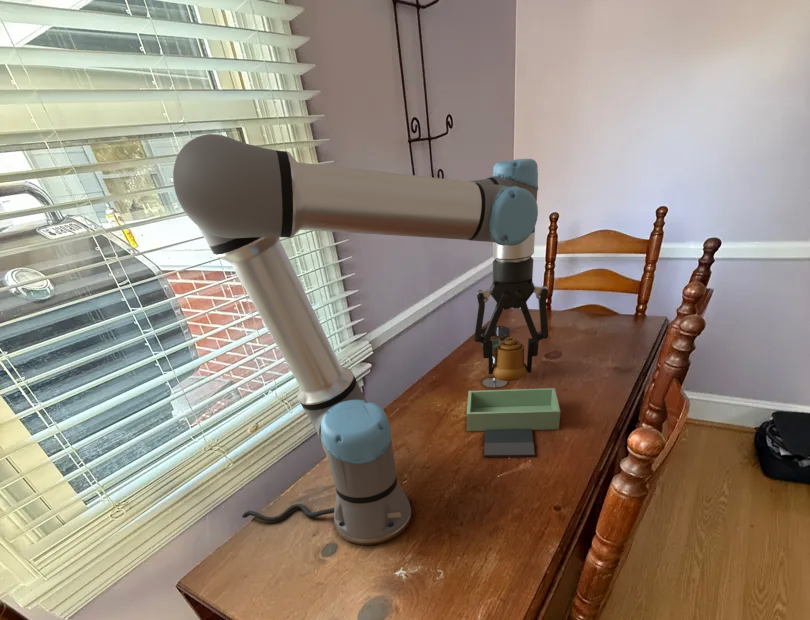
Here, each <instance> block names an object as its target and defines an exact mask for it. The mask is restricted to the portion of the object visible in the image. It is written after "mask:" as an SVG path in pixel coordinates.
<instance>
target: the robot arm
mask: <svg viewBox="0 0 810 620" xmlns="http://www.w3.org/2000/svg"><path fill="white" fill-rule="evenodd" d="M172 181H173V187H174V192H175V195H176V198H177V201H178V203H179V205H180V207H181V208H182V210H183V212H184V213H185V214H186V216H187V217H188V219H190V221H192V223H193V224H194V225H196V226H197V228H198V230H199V231H200V233H201V235H202V237H203V238H204V240H205V241H206V243H207V245H208V247H209V248H210V250H211V252H212V253H213V255H214V257H215V258H217V259H221V260H223V261H226V262H227V263H229V264H230V265H231V267H232V269H233V270H234V272H235V274H236V276H237V278H238V280H239V281H240V283H241V285H242V287H243V288H244V290H245V292H246V293H247V295H248V297H249V299H250V301H251V302H252V304H253V306H254V308H255V309H256V311H257V313H258V315H259V316H260V318H261V320H262V322H263V324H264V325H265V327H266V329H267V331H268V333H269V334H270V336H271V338H272V340H273V341H274V343H275V345H276V347H277V349H278V350H279V352H280V353H281V355H282V357H283V359H284V360H285V362H286V364H287V366H288V368H289V370H290V372H291V373H292V375H293V377H294V379H295V380H296V382H297V384H298V385H299V390H298V392H297V400H298V402H299V403H300V405H301V407H302V409H303V410H304V412H305V414H306V415H307V417H308V419H309V420H310V423H311V424H312V426H313V428H314V430H315V433H316V434H317V436H318V438H319V442H320V444H321V446H322V448H323V451H324V453H325V455H326V458H327V462H328V464H329V468H330V471H331V475H332V480H333V484H334V487H335V491H336V497H335V503H334V507H329V508H326V509H320V510H317V511H313V512H311V511H310V510H308V507H307V506H306V505H305V504H302V503H295V504H292V505H291V506H289V507H287V508H286V509H285V510H284V511H283V512H281V513H280V514H277V515H275V516H266V515H264V514H261V513H260V512H258V511H255V510H251V509H250V510H247V511H245V512H244V513H243V514H242V516H241V517H242V518H243V519H245V518H248V517H249V516H252V517H255V518H257V519H259V520H261V521H264V522H268V523H273V522H279V521H281V520H283V519H284V518H285V517H287V516H288V515H289V514H290V513H291V512H293V511H294V510H298V509H299V510H301V511H302V512H303V513H304V515H305V516H306V517H308V518H317V517H320V516H325V515H330V514H333V523H334V527H335V531H336V533H338V535H339V537H341V538H342V539H343V540H345V541H347V542H350V543H351V544H355V545H360V546H361V545H363V546H370V545H379V544H382V543H386V542H388V541H391V540H393V539H394V538H396V537H398V536H399V535H401V534H402V533H403V532H404V531H405V530H406V529H407V528H408V526H409V524H410V522H411V520H412V508H411V503H410V501H409V498H408V497H407V495H406V493H405V492H404V489H403V488H402V487H401V485H400V483H399V481H398V475H397V469H396V462H395V455H394V450H393V442H392V430H391V425H390V422H389V420H388V416H387V414H386V412H385V410H384V409H382V407H381V406H379V405H378V404H376V403H375V402H372V401H369V402H367V399H366V397H365V395H364V393H363V391H362V389H361V387H360V385H359V383H358V381H357V378H356V377H355V374H354V372H353V371H352V370H351V369H350V368H348V367H344V366H341V363H340V361H339V358H338V357H337V355H336V353H335V351H334V349H333V347H332V345H331V343H330V341H329V339H328V337H327V334H326V333H325V331H324V329H323V327H322V324H321V322H320V320H319V318H318V316H317V313H316V311H315V310H314V308H313V306H312V304H311V302H310V300H309V297H308V296H307V293H306V291H305V289H304V287H303V285H302V283H301V281H300V279H299V277H298V274H297V272H296V270H295V269H294V267H293V264H292V263H291V261H290V258H289V257H288V255H287V252H286V250H285V248H284V246H283V244H282V242H281V240H280V238H288V239H289V238H290V239H291V238H293V237H295V235H296V234H297V233H298V232H299V231H315V232H332V233H347V234H348V233H349V234H362V235H363V234H365V235H380V236H381V235H382V236H397V237H398V236H399V237H414V238H430V239H445V240H447V239H448V240H449V239H450V240H460V241H461V240H463V241H472V242H488V243H489V242H490V243H492V257H493V258H494V260H493V261H492V283H491V286H490V288H489V289H485V290H482V289H479V290H478V291H477V293H476V297H477V303H478V308H477V315H476V322H475V329H474V339H473V340H474V342H475V343H480V344H481V343H482V344H483V350H482V357H483V359H488V375H493V373H492V367H493V364H492V340H490V339H491V336H492V334H493V332H494V329H495V327H496V326H498V325H497V324H498V322H499V319H500V317H501V315H502V314H503V312H504V310H510V309H515V310H518V309H520V310H521V312H522V315H523V318H524V320H525V323H526V326H527V328H528V331H529V333H530V336H531V337H530V338H529V337H528V339H527V356H526V365H527V374H532V368H533V366H532V365H533V357H538V355H539V343H540V341H541V340H543V339H544V340H546V339H548V338H549V327H548V326H549V325H548V314H547V313H548V312H547V298H548V295H549V289H548V286H547V285H542V286H537V285H535V284H534V281H533V277H534V258H533V257H532V256H533V255H534V254H535V242H536V241H535V240H536V225H537V221H538V216H539V207H538V203H537V202H538V191H539V167H538V162H537V161H536V160H535V159H532V158H515V159H507V160H502V161H498V162H496V163H495V164H494V165H493V171H492V175H491V176H489V177H487V178H481V179H476V180H475V179H473V180H460V179H459V180H458V179H449V178H440V177H432V176H422V175H415V174H406V173H398V172H397V173H394V172H386V171H377V170H370V169H361V168H360V169H359V168H351V167H343V166H333V165H324V164H317V163H316V164H315V163H306V162H298V161H297V159H295V158H294V156H293V155H292V154H291V152H290V151H286V150H279V149H272V148H265V147H261V146H257V145H253V144H249V143H247V142H243V141H240V140H238V139H234V138H232V137H229V136H226V135H222V134H214V133H208V134H207V133H206V134H203V135H202V134H201V135H200V136H196V137H194V138H193V139H191V140H189V141H188V142H187V143H185V144H184V145H183V147H182V148H181V149H180V150H179V152H178V154H177V155H176V158H175V162H174V165H173V171H172ZM533 294H535V298H536V299H537V301H538V310H539V311H538V312H539V325H540V330H539V331H537V328H536V325H535V323H534V320H533V317H532V314H531V311H530V309H529V306H528V303H527V302H528V300H529V299H530V298H531V296H532V295H533ZM490 296H491V297H492V298H493V299H494V302H496V304H495V305H494V306H495V307H494V310H493V312H492V315H491V317H490V320H489V321H488V325H487V326H486V327H487V329H486V332H485V334H484V335H482V334H481V331H482V329H483V322H484V316H485V308H486V303H488V301H489V298H490Z"/></svg>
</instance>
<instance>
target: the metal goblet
mask: <svg viewBox="0 0 810 620" xmlns="http://www.w3.org/2000/svg"><path fill="white" fill-rule="evenodd" d="M487 327H488V326H486V327H484V328H483V327H482V331H481V334H482V335H484V334H485V332H486V329H487ZM510 337H511V328H510V327H507V326H505V325H496V327H495V329H494V332H493V334H492V336H491V339H490V340H492V366H493V365H494V364H495V363H496V348H497V345H498V344H500V342H502V341H504V339H506V338H510ZM480 346H481V350H482V351H483V344H482V343H481V342H480ZM508 382H509V381H502V380H499V379H497V378H496V377H494V375H492V376H489V377H486V378H485V379H483V380H482V385H483V386H485V387H487V388H492V389H495V388H502V387H505V386H506V385H507V384H508Z"/></svg>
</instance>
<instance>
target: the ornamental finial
mask: <svg viewBox="0 0 810 620" xmlns="http://www.w3.org/2000/svg"><path fill="white" fill-rule="evenodd" d="M527 374H528V372H527V363H525V344H524V343H522V342H521V340H518V339H517V338H516V337H512V336H510V338H506V339H504V341H502V342H500V344H498V345H497V348H496V363H495V364H494V365H493V364H492V376H494V377H496V378H497V379H499V380H502V381H508V382H515V381H519V380H522V379H524V377H525V376H526V375H527Z"/></svg>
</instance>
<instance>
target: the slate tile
mask: <svg viewBox="0 0 810 620" xmlns="http://www.w3.org/2000/svg"><path fill="white" fill-rule="evenodd" d="M483 453H484V458H536V451H535V443H534V436H533V430H532V429H494V430H485V431H484V452H483Z"/></svg>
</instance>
